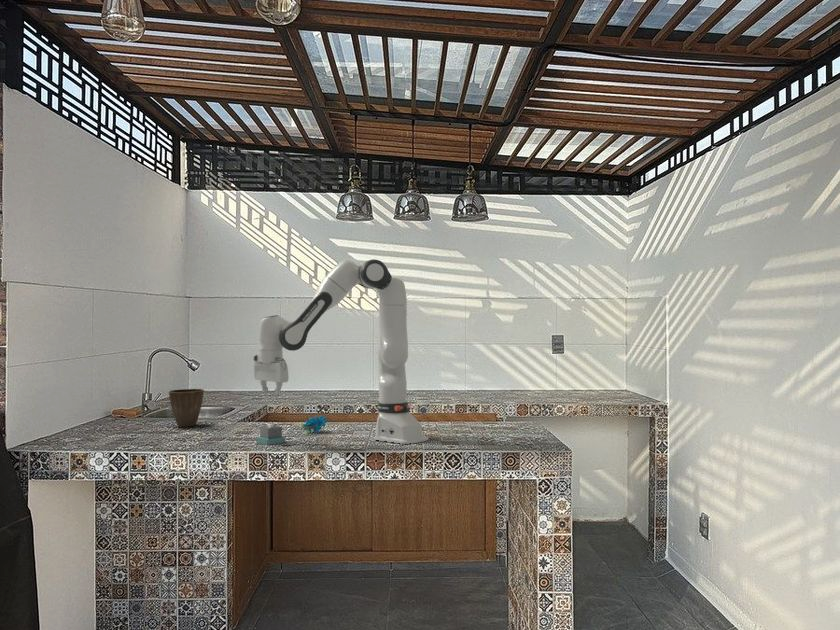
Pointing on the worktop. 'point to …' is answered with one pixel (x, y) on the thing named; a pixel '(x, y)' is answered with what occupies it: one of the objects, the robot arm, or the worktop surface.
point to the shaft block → (270, 441)
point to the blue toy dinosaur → (314, 424)
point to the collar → (271, 432)
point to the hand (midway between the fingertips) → (271, 392)
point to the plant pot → (186, 405)
